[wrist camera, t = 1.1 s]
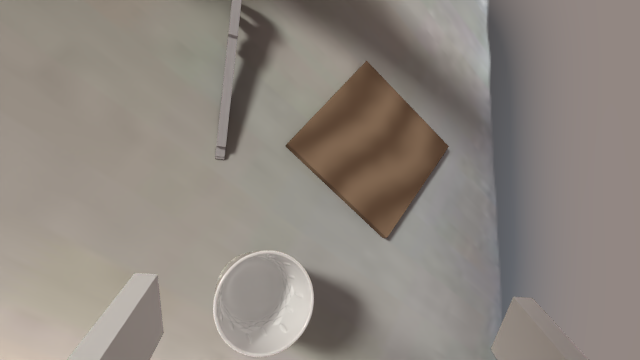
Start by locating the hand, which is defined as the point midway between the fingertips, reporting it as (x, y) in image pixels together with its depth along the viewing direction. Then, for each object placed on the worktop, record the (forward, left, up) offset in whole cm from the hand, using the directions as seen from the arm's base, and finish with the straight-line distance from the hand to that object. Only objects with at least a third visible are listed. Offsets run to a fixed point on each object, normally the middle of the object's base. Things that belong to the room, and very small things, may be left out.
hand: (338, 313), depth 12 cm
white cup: (+1, -2, -24) cm, 24 cm away
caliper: (-17, +14, -25) cm, 33 cm away
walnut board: (+2, +21, -24) cm, 32 cm away
